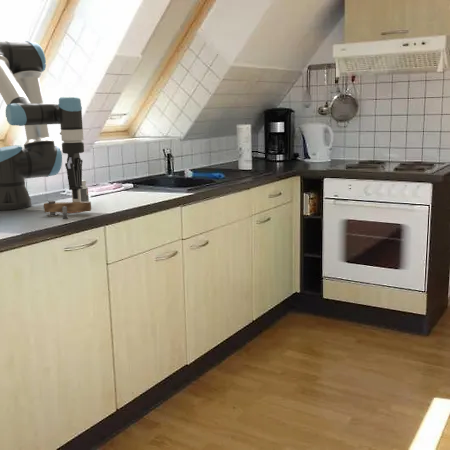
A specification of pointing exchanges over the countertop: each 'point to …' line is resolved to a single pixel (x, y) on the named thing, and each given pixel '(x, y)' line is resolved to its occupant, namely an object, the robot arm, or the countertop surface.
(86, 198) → the pill bottle
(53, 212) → the pivot pin
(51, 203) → the leg bar
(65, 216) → the stop peg
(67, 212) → the coaster
